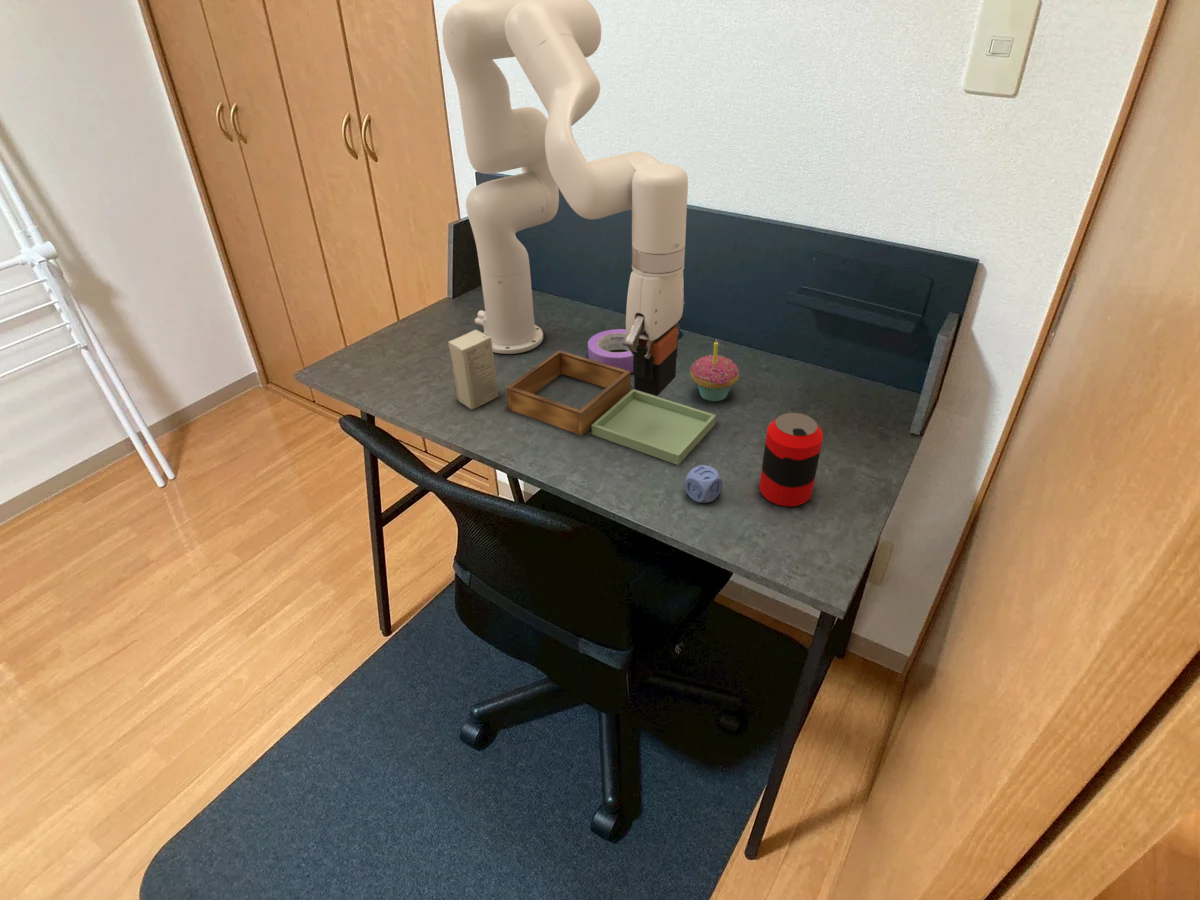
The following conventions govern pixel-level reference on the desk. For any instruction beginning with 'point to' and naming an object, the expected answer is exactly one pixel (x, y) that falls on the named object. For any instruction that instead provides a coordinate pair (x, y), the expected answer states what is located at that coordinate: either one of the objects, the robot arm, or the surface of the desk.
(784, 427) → the soda can
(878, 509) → the desk surface
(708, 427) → the tray
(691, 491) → the decorative dice
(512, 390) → the wooden frame
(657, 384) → the battery
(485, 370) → the cosmetic box
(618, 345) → the tape roll
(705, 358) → the cupcake
